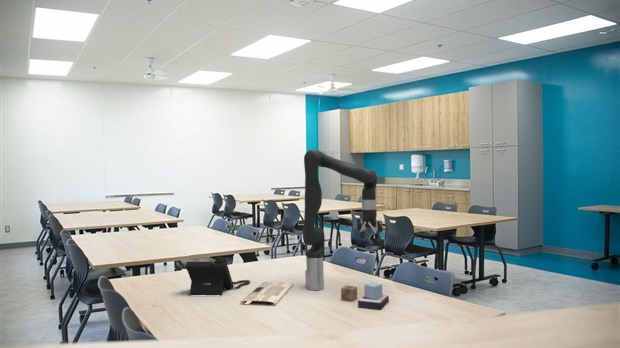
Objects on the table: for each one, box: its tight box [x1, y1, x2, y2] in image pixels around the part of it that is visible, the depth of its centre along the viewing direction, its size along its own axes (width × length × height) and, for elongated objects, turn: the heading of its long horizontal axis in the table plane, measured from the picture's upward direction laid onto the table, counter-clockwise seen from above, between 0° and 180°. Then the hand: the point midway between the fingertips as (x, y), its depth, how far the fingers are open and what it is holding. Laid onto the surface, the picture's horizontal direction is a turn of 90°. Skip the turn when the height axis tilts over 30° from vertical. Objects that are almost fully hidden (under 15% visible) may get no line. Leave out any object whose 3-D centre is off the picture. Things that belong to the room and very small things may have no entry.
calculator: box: [357, 294, 390, 311], centre depth 215 cm, size 11×4×15 cm
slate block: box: [363, 281, 383, 300], centre depth 215 cm, size 6×6×6 cm
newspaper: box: [240, 280, 294, 306], centre depth 236 cm, size 37×19×3 cm, turn 169°
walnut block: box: [340, 285, 358, 303], centre depth 224 cm, size 6×6×6 cm
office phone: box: [185, 256, 251, 296], centre depth 250 cm, size 29×28×20 cm
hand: (369, 239), depth 231 cm, fingers open, 8 cm apart
